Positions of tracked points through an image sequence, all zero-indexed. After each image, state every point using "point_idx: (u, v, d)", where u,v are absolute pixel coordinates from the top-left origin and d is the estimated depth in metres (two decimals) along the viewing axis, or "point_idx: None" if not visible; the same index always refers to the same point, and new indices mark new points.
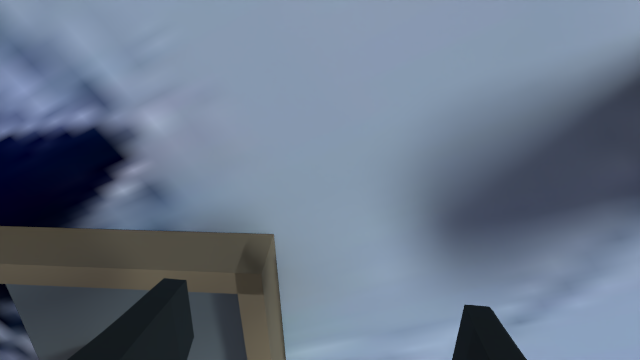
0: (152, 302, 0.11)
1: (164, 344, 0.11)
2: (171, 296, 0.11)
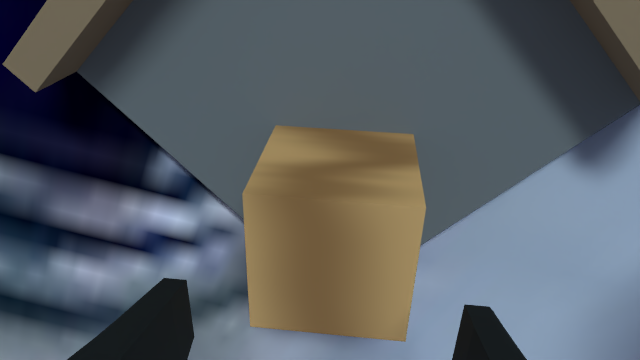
0: (152, 302, 0.11)
1: (164, 344, 0.11)
2: (171, 296, 0.11)
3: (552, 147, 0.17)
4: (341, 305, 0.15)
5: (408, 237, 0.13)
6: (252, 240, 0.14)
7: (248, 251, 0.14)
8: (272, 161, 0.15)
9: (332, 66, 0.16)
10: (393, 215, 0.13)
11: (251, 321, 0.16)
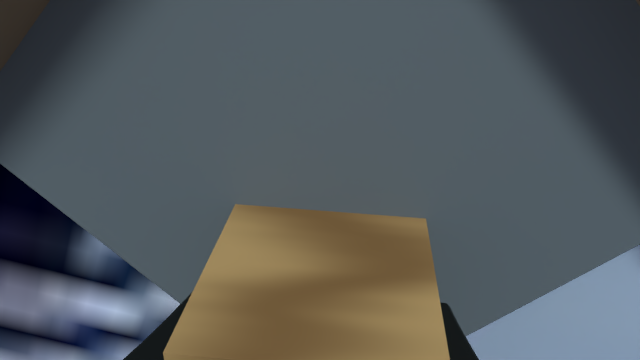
0: None
1: None
2: None
3: (620, 238, 0.12)
4: None
5: None
6: None
7: None
8: (221, 276, 0.10)
9: (312, 128, 0.12)
10: None
11: None
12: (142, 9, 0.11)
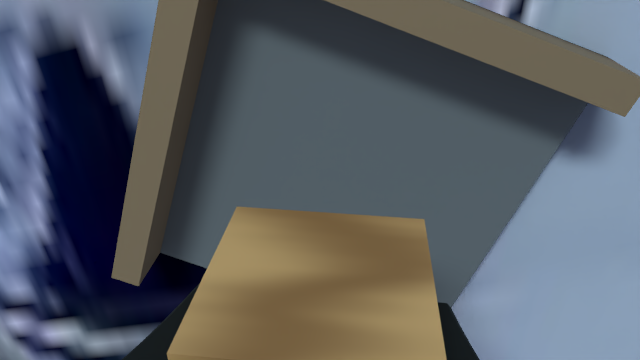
0: None
1: None
2: None
3: (538, 157, 0.19)
4: None
5: None
6: None
7: None
8: (223, 277, 0.10)
9: (329, 174, 0.20)
10: None
11: None
12: (221, 155, 0.20)
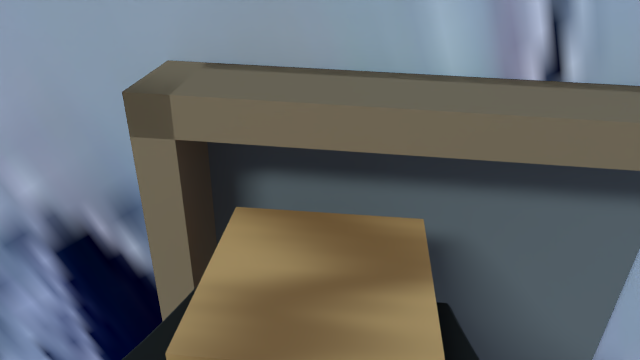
0: None
1: None
2: None
3: (634, 223, 0.15)
4: None
5: None
6: None
7: None
8: (222, 278, 0.10)
9: None
10: None
11: None
12: None
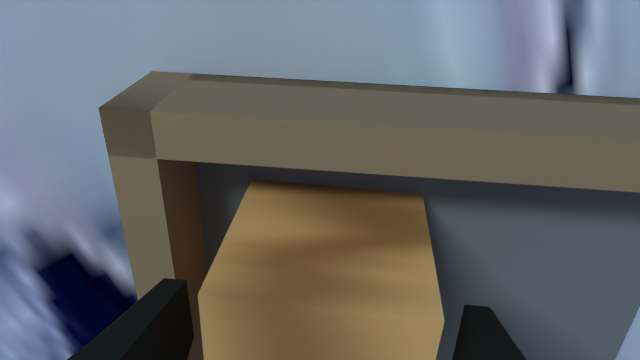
0: (152, 302, 0.11)
1: (164, 344, 0.11)
2: (171, 296, 0.11)
3: None
4: None
5: (419, 354, 0.10)
6: (212, 349, 0.11)
7: None
8: (243, 236, 0.12)
9: None
10: (399, 328, 0.10)
11: None
12: None
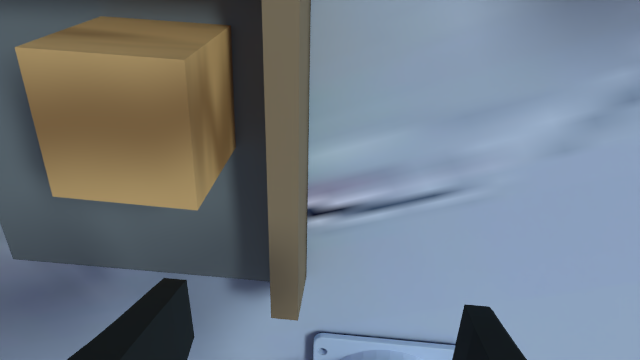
0: (152, 302, 0.11)
1: (164, 344, 0.11)
2: (171, 296, 0.11)
3: (220, 270, 0.24)
4: (76, 143, 0.15)
5: (167, 198, 0.16)
6: (131, 63, 0.14)
7: (117, 57, 0.14)
8: (208, 56, 0.16)
9: None
10: (185, 187, 0.16)
11: (22, 49, 0.14)
12: (77, 14, 0.18)
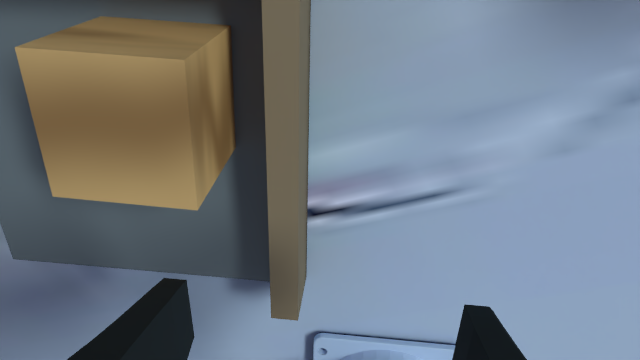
0: (152, 302, 0.11)
1: (164, 344, 0.11)
2: (171, 296, 0.11)
3: (220, 270, 0.24)
4: (76, 143, 0.15)
5: (167, 198, 0.16)
6: (131, 63, 0.14)
7: (117, 57, 0.14)
8: (208, 56, 0.16)
9: None
10: (185, 187, 0.16)
11: (22, 49, 0.14)
12: (77, 14, 0.18)
